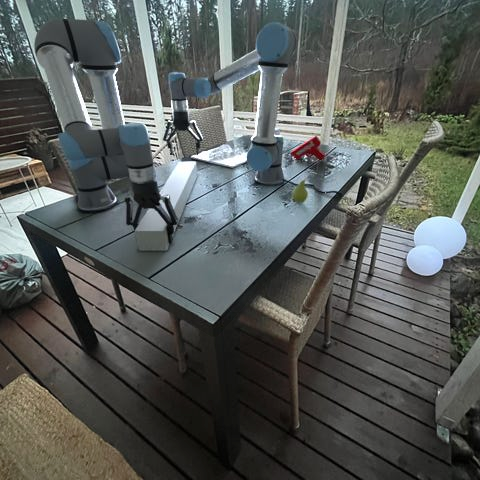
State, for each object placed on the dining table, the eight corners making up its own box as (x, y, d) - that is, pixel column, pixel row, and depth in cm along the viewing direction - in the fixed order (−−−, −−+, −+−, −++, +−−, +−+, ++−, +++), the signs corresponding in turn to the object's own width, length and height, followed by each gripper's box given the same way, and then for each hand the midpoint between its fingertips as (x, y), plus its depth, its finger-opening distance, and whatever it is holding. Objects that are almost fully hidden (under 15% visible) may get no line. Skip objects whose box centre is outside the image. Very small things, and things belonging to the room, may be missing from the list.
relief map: (232, 167, 162) (232, 159, 160) (191, 158, 180) (190, 150, 177) (257, 157, 181) (258, 149, 178) (218, 149, 198) (217, 142, 196)
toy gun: (328, 155, 171) (316, 134, 167) (328, 157, 168) (316, 136, 164) (303, 170, 181) (291, 151, 177) (303, 172, 178) (290, 152, 174)
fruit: (288, 200, 123) (290, 174, 116) (302, 197, 125) (305, 172, 119) (296, 206, 118) (299, 179, 111) (310, 203, 120) (314, 177, 114)
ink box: (274, 143, 212) (275, 127, 205) (279, 145, 208) (280, 128, 202) (267, 145, 206) (268, 129, 200) (272, 147, 203) (273, 130, 197)
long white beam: (181, 175, 153) (179, 161, 149) (197, 175, 153) (196, 161, 148) (139, 250, 90) (134, 231, 86) (166, 250, 90) (163, 230, 86)
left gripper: (102, 184, 79) (121, 247, 91) (177, 183, 79) (186, 247, 91) (112, 175, 85) (128, 236, 97) (182, 175, 85) (189, 235, 97)
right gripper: (152, 111, 127) (159, 156, 139) (205, 111, 127) (207, 156, 139) (156, 109, 134) (162, 152, 145) (206, 109, 134) (209, 152, 145)
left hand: (156, 241), depth 94 cm, fingers closed on long white beam, 9 cm apart
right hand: (184, 154), depth 142 cm, fingers open, 13 cm apart
